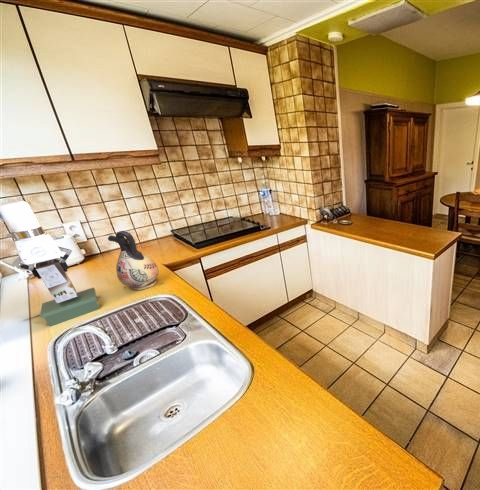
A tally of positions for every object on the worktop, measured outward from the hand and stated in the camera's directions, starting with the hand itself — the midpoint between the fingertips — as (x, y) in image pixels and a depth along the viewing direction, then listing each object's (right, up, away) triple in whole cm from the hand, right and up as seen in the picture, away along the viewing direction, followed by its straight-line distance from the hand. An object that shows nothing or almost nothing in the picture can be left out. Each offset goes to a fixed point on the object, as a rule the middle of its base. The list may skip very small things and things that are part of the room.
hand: (53, 273), depth 109 cm
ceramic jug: (+18, -9, +24) cm, 31 cm away
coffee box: (+1, -10, +4) cm, 11 cm away
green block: (+2, -17, +7) cm, 19 cm away
